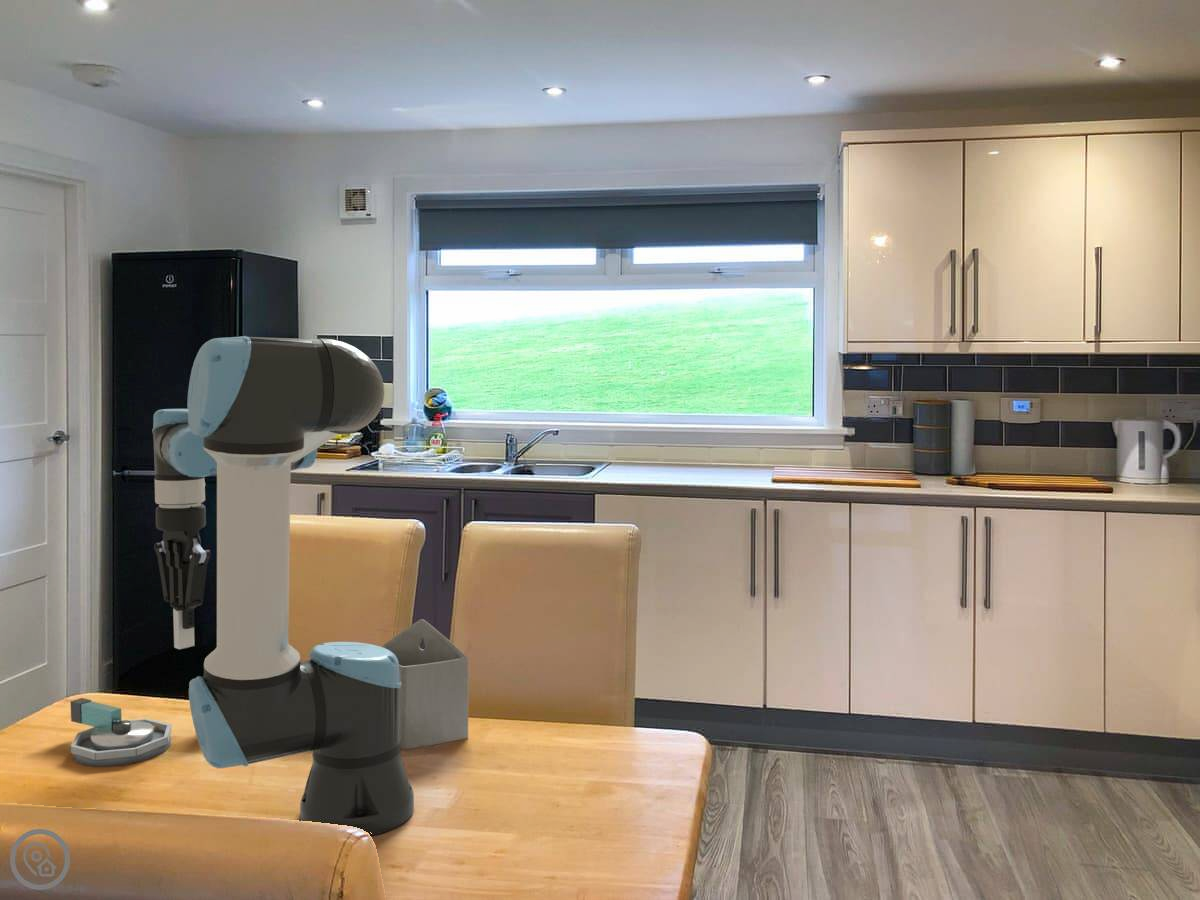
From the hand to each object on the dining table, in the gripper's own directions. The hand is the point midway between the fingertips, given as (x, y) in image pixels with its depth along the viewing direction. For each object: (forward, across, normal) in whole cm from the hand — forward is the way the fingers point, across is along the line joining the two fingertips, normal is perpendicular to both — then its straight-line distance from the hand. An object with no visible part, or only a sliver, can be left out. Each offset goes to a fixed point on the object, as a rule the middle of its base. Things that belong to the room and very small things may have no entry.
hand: (184, 646), depth 166 cm
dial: (+13, +5, +10) cm, 18 cm away
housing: (+15, +2, +10) cm, 18 cm away
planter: (+15, -32, -21) cm, 41 cm away
